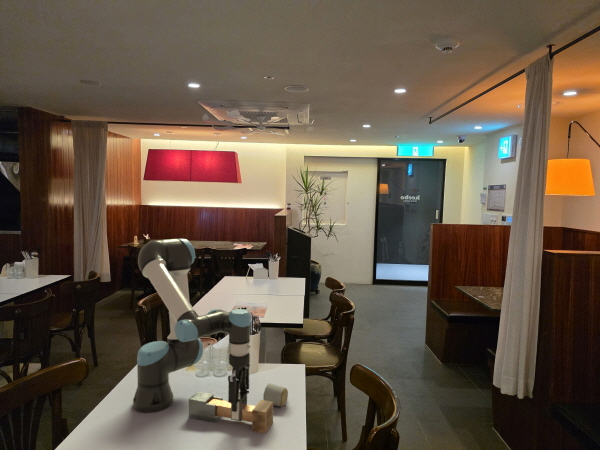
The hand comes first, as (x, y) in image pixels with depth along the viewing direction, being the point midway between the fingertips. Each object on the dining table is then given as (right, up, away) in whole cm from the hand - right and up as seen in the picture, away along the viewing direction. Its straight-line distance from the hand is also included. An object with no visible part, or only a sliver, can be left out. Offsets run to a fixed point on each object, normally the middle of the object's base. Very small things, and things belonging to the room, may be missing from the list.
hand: (239, 414), depth 152 cm
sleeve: (-13, -2, +4) cm, 13 cm away
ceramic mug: (+13, -2, +15) cm, 20 cm away
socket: (+9, -3, -3) cm, 10 cm away
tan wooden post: (-3, -1, +1) cm, 4 cm away
